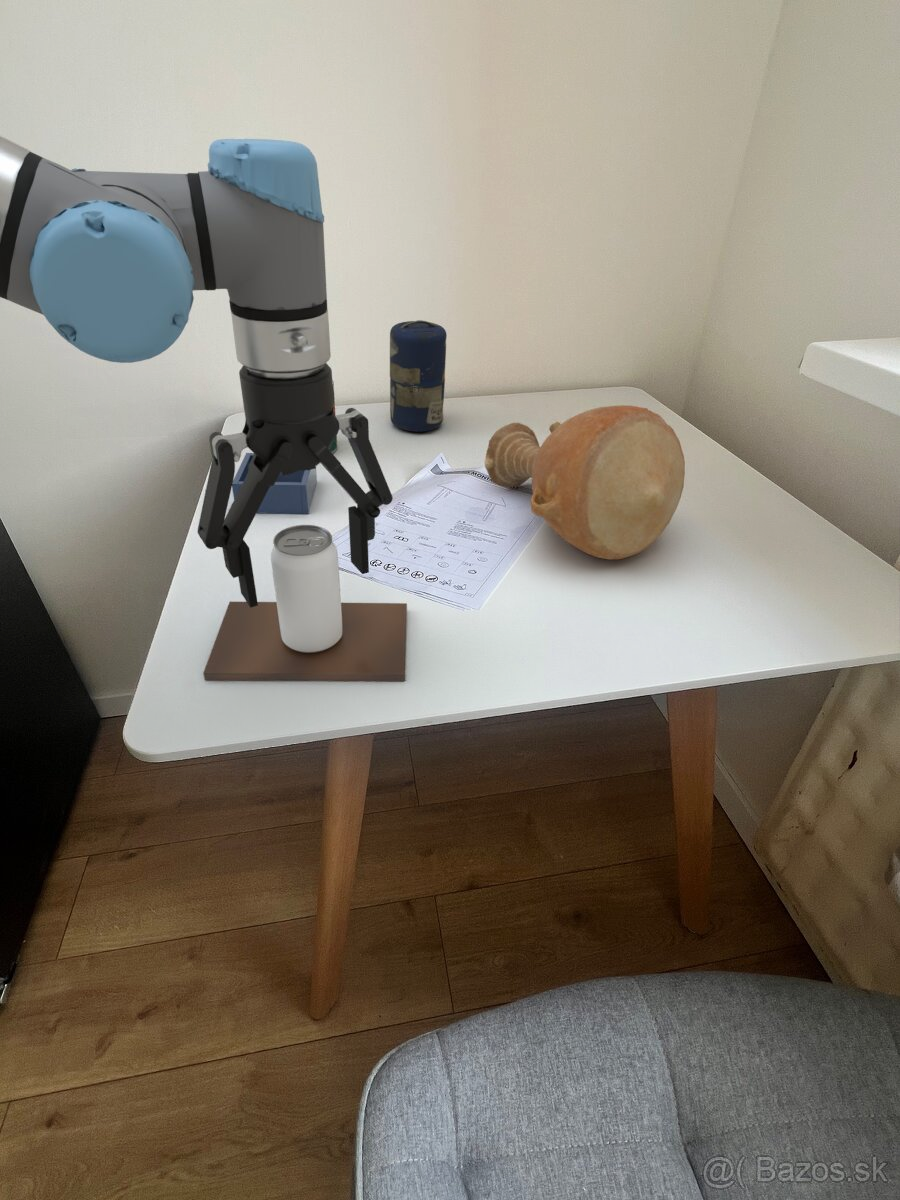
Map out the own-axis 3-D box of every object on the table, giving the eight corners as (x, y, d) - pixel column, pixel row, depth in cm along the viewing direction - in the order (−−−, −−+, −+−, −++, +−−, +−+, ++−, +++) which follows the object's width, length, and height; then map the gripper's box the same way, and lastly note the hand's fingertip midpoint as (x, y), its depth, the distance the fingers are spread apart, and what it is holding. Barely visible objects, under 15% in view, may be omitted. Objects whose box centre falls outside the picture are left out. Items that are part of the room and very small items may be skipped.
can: (341, 654, 72) (334, 557, 65) (277, 655, 71) (264, 557, 64) (344, 616, 77) (338, 522, 70) (285, 617, 77) (273, 522, 70)
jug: (579, 519, 75) (427, 449, 96) (637, 607, 88) (493, 528, 109) (693, 382, 76) (519, 343, 98) (734, 489, 89) (572, 434, 111)
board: (204, 680, 70) (203, 672, 69) (230, 608, 79) (229, 601, 79) (405, 681, 71) (405, 674, 70) (406, 610, 80) (406, 603, 80)
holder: (236, 513, 97) (231, 483, 94) (250, 480, 105) (246, 452, 102) (308, 514, 97) (306, 485, 95) (317, 481, 105) (314, 454, 103)
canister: (389, 415, 128) (388, 312, 117) (440, 414, 129) (444, 312, 118) (391, 435, 120) (390, 327, 110) (446, 435, 121) (450, 328, 111)
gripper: (147, 401, 50) (199, 639, 62) (431, 358, 60) (426, 569, 73) (124, 370, 55) (177, 596, 68) (390, 335, 65) (392, 537, 78)
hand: (306, 582), depth 70 cm, fingers open, 11 cm apart
